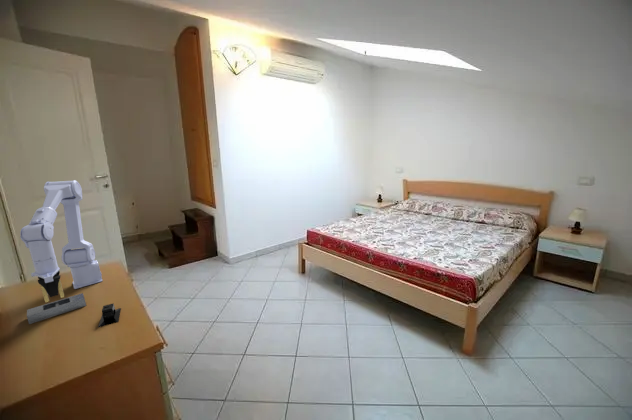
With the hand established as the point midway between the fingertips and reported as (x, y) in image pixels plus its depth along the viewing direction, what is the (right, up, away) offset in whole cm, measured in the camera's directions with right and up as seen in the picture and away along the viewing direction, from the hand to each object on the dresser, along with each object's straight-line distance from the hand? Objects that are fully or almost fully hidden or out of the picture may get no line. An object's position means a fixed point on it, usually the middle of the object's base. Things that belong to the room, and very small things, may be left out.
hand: (54, 294), depth 98 cm
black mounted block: (+22, -8, -2) cm, 23 cm away
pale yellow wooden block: (0, -2, 0) cm, 2 cm away
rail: (0, -7, +2) cm, 7 cm away
